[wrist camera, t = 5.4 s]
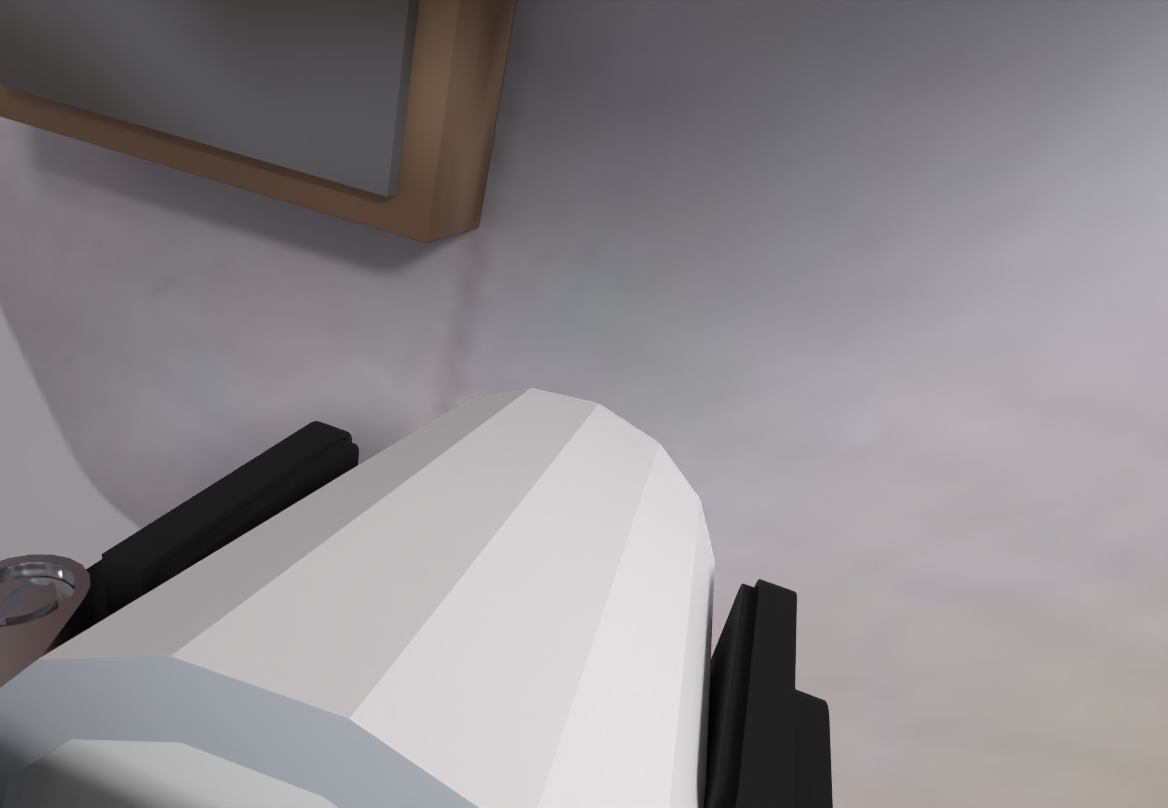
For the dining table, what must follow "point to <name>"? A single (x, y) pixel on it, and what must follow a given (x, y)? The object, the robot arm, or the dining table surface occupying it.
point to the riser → (278, 95)
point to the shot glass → (407, 640)
